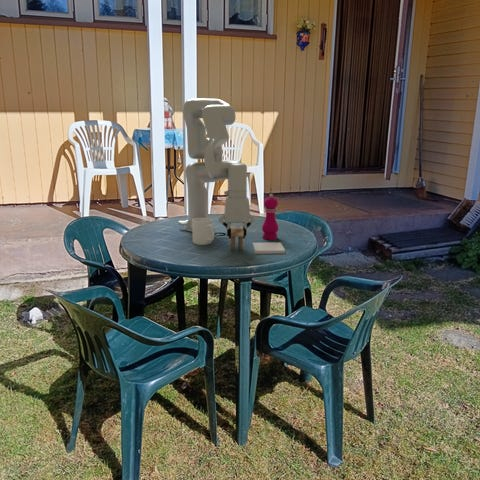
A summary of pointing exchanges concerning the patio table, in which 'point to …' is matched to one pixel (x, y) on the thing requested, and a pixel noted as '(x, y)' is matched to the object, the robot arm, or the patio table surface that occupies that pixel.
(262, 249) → the tile
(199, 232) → the cup
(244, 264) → the patio table surface
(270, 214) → the pepper mill
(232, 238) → the pegged wooden block
